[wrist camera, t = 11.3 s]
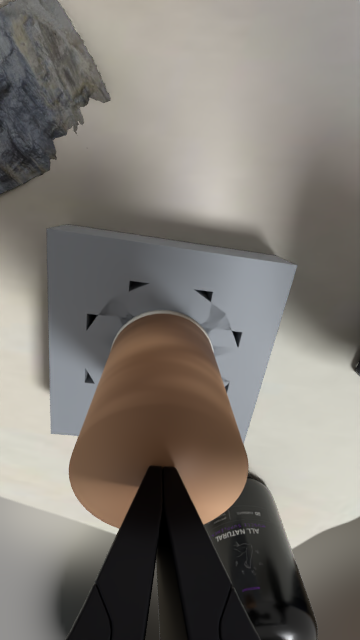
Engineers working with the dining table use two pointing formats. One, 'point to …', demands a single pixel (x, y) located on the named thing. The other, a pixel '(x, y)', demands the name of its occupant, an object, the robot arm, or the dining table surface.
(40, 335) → the dining table surface
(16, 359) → the dining table surface
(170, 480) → the robot arm
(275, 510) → the supplement bottle
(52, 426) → the board
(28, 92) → the driftwood
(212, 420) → the peg
